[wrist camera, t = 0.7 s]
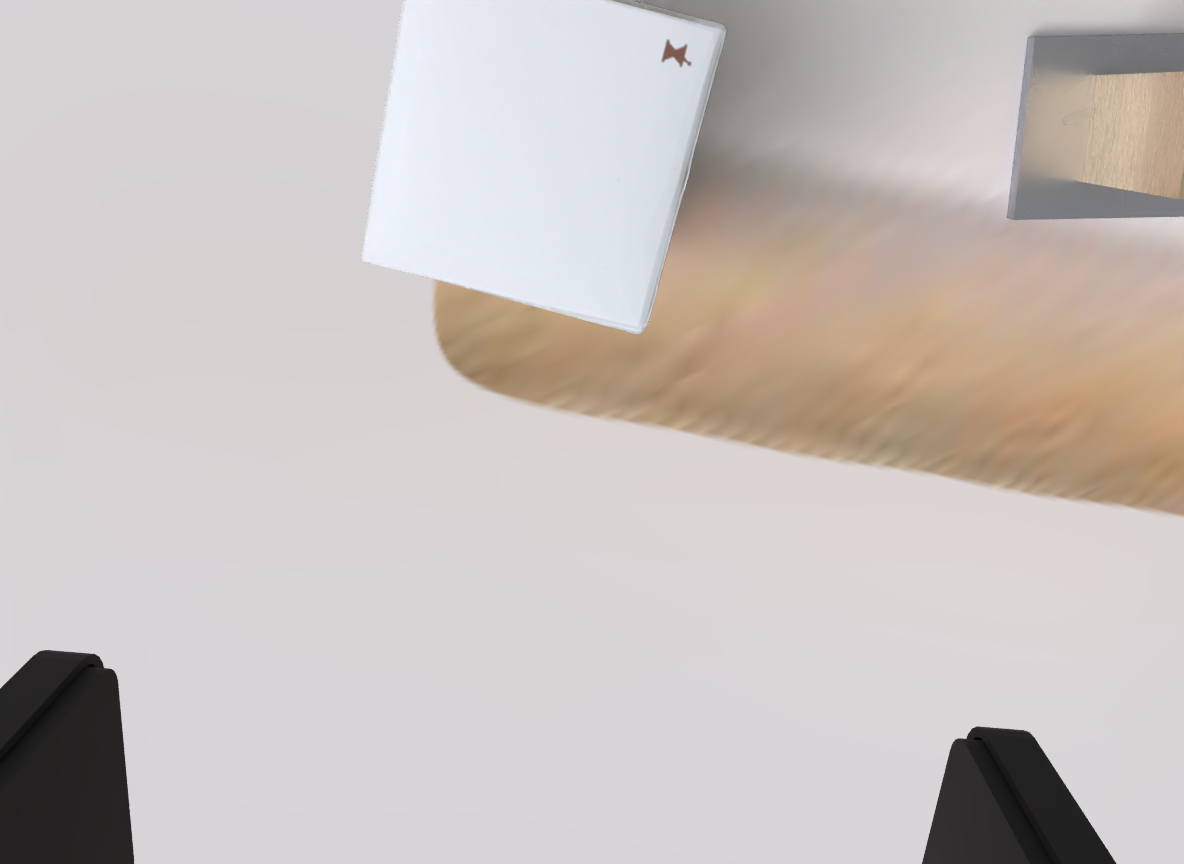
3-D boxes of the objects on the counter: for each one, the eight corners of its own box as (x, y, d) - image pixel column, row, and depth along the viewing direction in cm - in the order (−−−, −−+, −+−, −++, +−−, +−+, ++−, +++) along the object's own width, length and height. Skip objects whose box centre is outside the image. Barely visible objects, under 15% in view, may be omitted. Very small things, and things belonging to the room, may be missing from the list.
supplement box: (480, -10, 33) (409, -72, 21) (692, 49, 33) (741, 22, 21) (436, 207, 35) (350, 263, 23) (635, 259, 36) (650, 341, 24)
